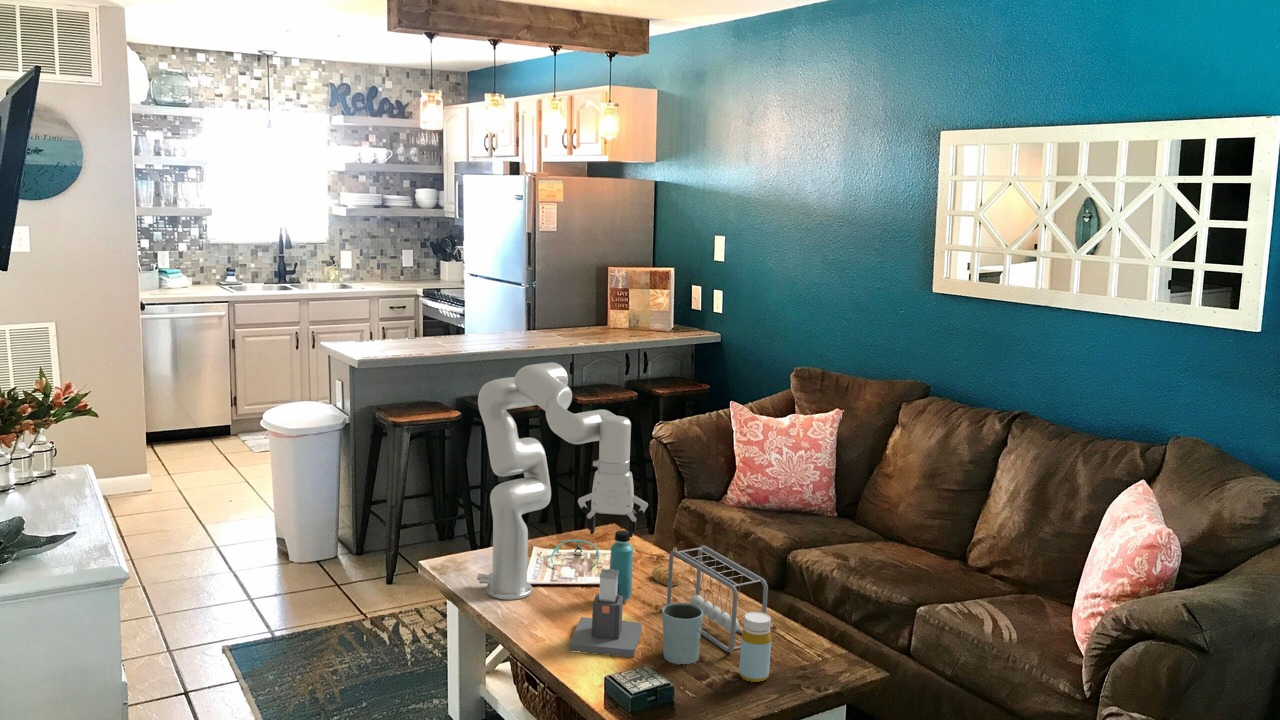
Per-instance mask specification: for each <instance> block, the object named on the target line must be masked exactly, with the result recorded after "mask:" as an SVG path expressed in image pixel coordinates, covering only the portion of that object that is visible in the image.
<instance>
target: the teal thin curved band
mask: <svg viewBox="0 0 1280 720" xmlns="http://www.w3.org/2000/svg"><path fill="white" fill-rule="evenodd" d="M571 542H572V543H573V542H575V543H577V547H576V548H575V550H574V552H577V550H579V551H580V553H581V552H583V550H582V548H581V543H585V544H588V545H590V546H592V547H593V548H595V549H596V550H595V552H596V553H595V557H596V556H597V559H595V562H594V564H593V565H592V566H591V568H592V567H594V568H595V566H596V565H597V563H598V562H599V561H598V560H599V558H600V557H599V556H600V553H599V552H600V551H599V548H598V547H597V546H596V545H595V544H593V543H592V542H591V541H587V540H584V539H569V540H565V541H563V542H560V543H559V544H558V545H556V546H555V548H554V549H553V551H552V554H551V557H550V558H551V559H550V560H551V564H552V563H553V564H554V562H553V556H554V555H555V553H556V554H557V553H559V550H560V549H559V547H560V546H561V545H564V544H567V543H571Z"/></svg>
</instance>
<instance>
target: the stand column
mask: <svg viewBox="0 0 1280 720" xmlns="http://www.w3.org/2000/svg"><path fill="white" fill-rule="evenodd" d="M599 573H600V574H599V593H598V594H599V602H601V603H613V604H617V590H618V574H619V570H610V569H609V568H608V569H607V568H602V569H601V571H600V572H599Z"/></svg>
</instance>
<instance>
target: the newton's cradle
mask: <svg viewBox="0 0 1280 720" xmlns="http://www.w3.org/2000/svg"><path fill="white" fill-rule="evenodd" d="M692 551H697V556H695V557H692V556H691V555H689V554H688V553H686V552H692ZM703 553H704V554H706V555H704V557H705V556H706V557H707V558H706V561H703ZM674 556H676V557H677V558H679V559H680V560H683V561H684V562H686V563H687V564H689V565H691V566H693V568H692V569H693V570H695V568H696V575H695V572H693V576H694V580H695V582H694V586H695V595H693V596H691V598H690V599H689V604H693V605H696V606H698V607H700V608H701V609H702V610H703V616H707V618H708V619H710V621H713V622H716V624H717V625H718V626H719V627H723V628H725V630H726V631H727V632H728V633H730V636H729V637H730V638H729V640H730V641H729V647H728V646H727V645H725V643H722V641H719V640H718V639H717V638H715V637H714V636H712V635H710V634H709V633H708V632H706V631H705V630H704V629H702V628H701V634H700V636H703V637H704V638H706V639H707V640H708V641H710V642H712V644H715V646H717V647H719V648H720V649H721V650H723V651H724V652H726V651H727V652H726V653H728V652H729V653H733V651H734V650H735V649H741V645H739V646H735V642H736V633H738V632H739V633H738V634H740V633H741V634H742V632H743V630H744V629H741V628H740V622H739V620H738V619H737V615H738V614H737V613H738V611H737V610H738V609H737V608H738V600H739V595H740V590H741V586H744V585H750V584H755V583H761V584H762V588H763V589H762V590H763V591H762V604H761V613H765V614H767V607H768V606H767V605H768V593H769V586H768V584H767V583H768V582H767V581H766V580H765V578H763V577H761V576H760V575H758V574H756V573H754V572H753V571H750V570H749V569H747V568H746V567H743V566H741V565H740V564H739V563H736V562H735V561H733V560H731V559H729V558H728V557H726V556H724V555H722V554H720V553H718V552H717V551H715V550H714V549H712V548H710V547H708V546H706V545H700V546H699V547H697V548H690V549H685V550H679V551H677V550H675V549H674V550H672V551H670V552H669V556H668V567H669V572H668V586H667V592H666V594H667V595H666V605H668V604H672V590H673V586H672V576H673V569H674ZM709 557H711V558H713V560H711V562H713V561H715V562H714V563H715V564H714V566H711V567H709V566H708V565H707V562H710V560H708V559H709ZM696 558H697V559H696ZM717 561H718V562H719V563H722V565H719V567H722V566H723V570H722V571H721V572H718V571H716V570H715V569H716V567H718V565H717ZM704 563H705V564H704ZM716 565H717V566H716ZM726 566H727V568H730V570H728V572H730V571H732V574H731V576H729V577H727V576H724V573H726V572H727V570H725V569H726V568H725V567H726ZM734 571H735V572H737V573H739V574H740V575H738V577H740V576H741V578H740V583H736V582H735V581H733V578H737V576H736V575H735V576H733V575H734ZM721 573H722V574H721ZM704 574H706V575H707V576H709V579H710V580H709V581H710V587H709V591H708V596H707V600H706V599H704V598H706V595H705V594H706V593H705V591H703V593H704V594H703V595H704V598H703V597H702V596H701V595H700V594H701V587H702V588H703V589H705V584H704V582H703V581H704ZM743 576H744V577H745V578H747V579H749V580H751V581H748V582H744V583H742V581H743ZM713 579H714V580H716V581H718V587H719V589H718V595H717V598H716V603H715V604H714V602H715V601H712V603H711V602H710V601H709V597H710V591H713V586H712V583H713ZM702 585H703V586H702ZM721 585H724V586H725V587H727V588H728V589H727V597H726V598H727V599H726V603H725V607H724V610H722V609H723V606H722V605H723V604H722V601H720V606H721V608H719V606H717V604H718V599H719V598H720V600H722V594H721ZM736 587H739V589H738V588H736ZM737 589H738V590H737ZM730 590H731V592H732V607H731V603H730V599H729V597H730ZM711 598H712V600H714V595H713V592H711ZM727 603H728V604H729V607H731V609H732V610H731V609H729V613H730V614H729V613H728V612H726V607H727ZM736 631H737V632H736ZM741 634H740V635H741ZM729 653H728V654H729Z"/></svg>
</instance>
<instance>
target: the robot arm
mask: <svg viewBox="0 0 1280 720" xmlns="http://www.w3.org/2000/svg"><path fill="white" fill-rule="evenodd" d="M568 383H569V376H568V373H567V371H566V369H565V368H564V367H563V366H562V365H561V364H559V363H556V362H553V361H552V362H544V363H536V364H535V363H534V364H529V365H525V366H523V367H521V368H520V369H519V370H518V371H517V372H516V374H515V376H512V377H511V376H509V377H504V378H503V377H502V378H497V379H493V380H490V381H488V382H486V383H485V384H483V385H482V387H481V388H480V390H479V393H478V398H477V405H478V411H479V414H480V416H481V419H482V422H483V425H484V429H485V435H486V443H487V449H488V455H489V461H490V463H489V464H490V467H491V469H492V472H493V473H494V474H495V475H496V476H498V477H510V476H516V475H521V474H523V476H524V477H523V478H522V477H521V478H515V479H512V480H508V481H504V482H503V481H502V482H501V483H499V484H497V485H496V486H494V488H493V489H492V490H491V492H490V496H489V500H490V501H489V502H490V508H491V514H492V521H493V522H492V526H493V527H492V529H493V530H492V573H489V574H485V573H479V572H478V574H477V578H476V579H477V581H479V584H485V585H486V584H487V585H486V593H487V594H488V595H489V596H490V597H493V598H494V599H499V600H505V601H506V600H508V601H509V600H510V601H511V600H520V599H524V598H526V597H528V596H529V595H531V593H532V592H533V586H532V584H531V583H529V582H528V580H527V579H528V551H529V550H528V547H529V546H528V544H529V533H528V532H529V530H528V527H527V524H526V523H525V521H524V519H523V517H522V515H524V514H527V513H530V512H531V513H532V512H535V511H540V510H543V509H545V508H546V507H547V506H548V505H549V504H550V502H551V500H552V498H551V497H552V487H551V481H550V474H549V467H548V461H547V456H546V451H545V448H544V446H543V444H542V443H541V442H540V441H539V439H536V438H535V437H522V438H520V437H519V433H518V427H517V424H516V421H515V420H514V418H513V416H512V415H511V414H510V413H509V412H508V411H507V410H511V409H519V408H525V407H531V406H536V405H537V406H538V407H539V408H541V409H542V410H543V411H545V418H546V422H547V424H548V426H549V428H550V430H551V431H552V432H553V433H554V434H556V435H557V436H558V437H560V438H561V439H563V440H564V441H566V442H568V443H569V444H572V445H581V444H586V443H591V442H599V445H598V446H599V449H598V452H599V453H598V459H597V460H593V461H592V467H595V468H596V469H597V470H596V471H595V472H594V476H593V483H592V489H591V491H592V492H590V493H588V494H586V495H584V496H581V497H579V498H578V500H577V503H578V506H579V507H580V509H581V511H582V513H583V514H584V515H585V516H586V518H587V521H588V522H587V530H589V534H590V535H593V534H594V533H595V531H596V516H595V515H596V513H597V514H604V515H605V514H606V515H620V516H628V517H629V519H630V520H629V525H628V532H629V537H630V538H633V535H634V534H636V532H637V521H638V520H639V519H640V518H641V517H643V515H644V513H645V511H646V510H647V508H648V507H649V503H648V502H647V501H645V500H643V499H642V498H640V497H638V496H637V495H635V493H634V490H635V488H634V478H633V473H632V471H630V461H631V460H630V459H631V458H630V456H631V440H632V439H631V435H632V433H631V432H632V422H631V421H630V419H629V418H628V417H626V416H623V415H622V416H621V415H616V414H614V413H613V412H611V411H610V410H607V409H597V410H596V409H595V410H587V411H582V412H578V413H574V412H572V411H569V410H568V408H569V407H570V405H571V403H572V401H573V392H572V390H571V388H570V387H569V386H568V385H569V384H568ZM589 501H591V502H590V503H591V505H590V508H589V507H588V506H587V504H586V502H589ZM635 504H636V505H638V506H640V508H639V510H637V512H636V511H635V509H634V505H635Z"/></svg>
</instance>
